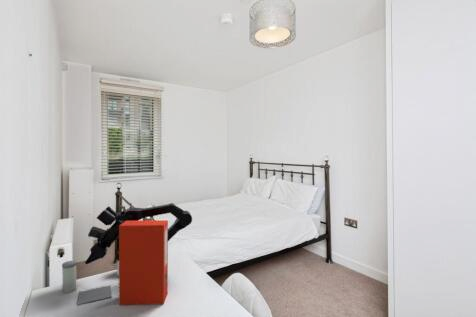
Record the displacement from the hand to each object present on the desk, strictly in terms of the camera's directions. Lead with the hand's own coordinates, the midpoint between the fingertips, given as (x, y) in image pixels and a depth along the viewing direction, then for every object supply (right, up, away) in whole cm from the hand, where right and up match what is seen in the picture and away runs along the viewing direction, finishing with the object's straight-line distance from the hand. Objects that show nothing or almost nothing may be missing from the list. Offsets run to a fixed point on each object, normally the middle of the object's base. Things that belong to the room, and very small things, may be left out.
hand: (88, 259), depth 114 cm
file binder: (+28, -14, -8) cm, 32 cm away
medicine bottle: (+11, -13, +15) cm, 23 cm away
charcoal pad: (+6, -13, -5) cm, 15 cm away
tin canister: (-7, -13, -1) cm, 15 cm away
